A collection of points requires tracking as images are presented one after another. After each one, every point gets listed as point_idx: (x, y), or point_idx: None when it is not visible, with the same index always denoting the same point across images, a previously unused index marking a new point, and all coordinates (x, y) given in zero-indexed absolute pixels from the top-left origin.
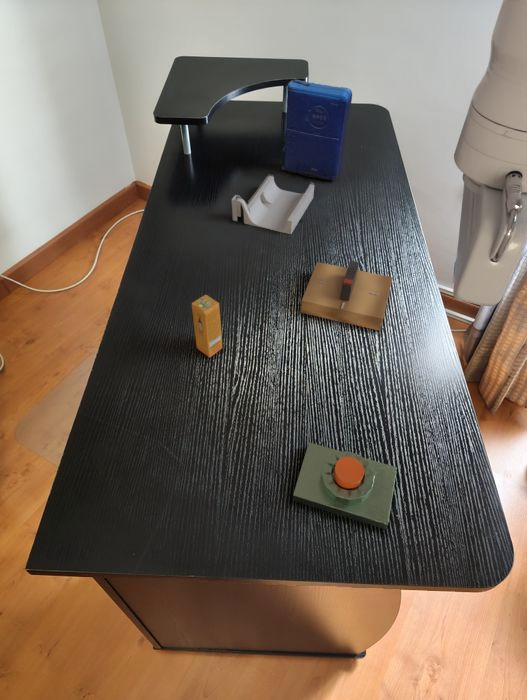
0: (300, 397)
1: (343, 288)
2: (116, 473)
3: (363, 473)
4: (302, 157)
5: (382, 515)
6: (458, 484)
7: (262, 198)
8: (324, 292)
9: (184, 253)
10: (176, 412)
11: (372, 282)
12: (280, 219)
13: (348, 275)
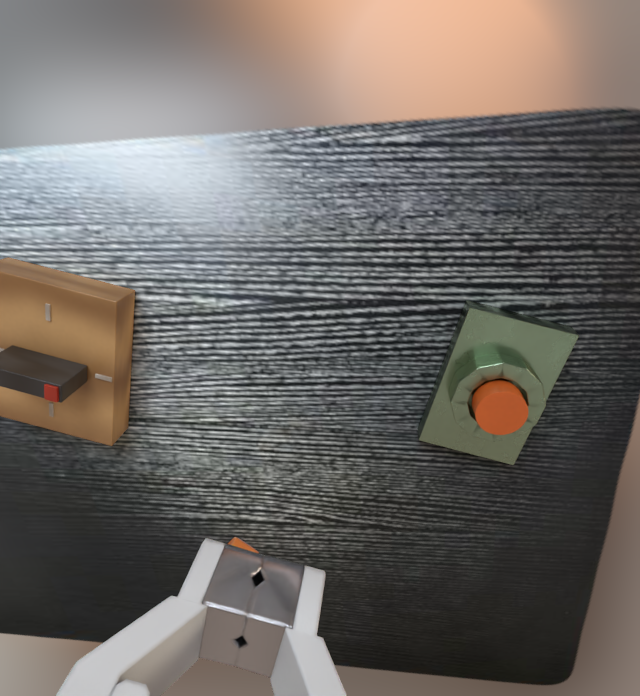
0: (318, 434)
1: (68, 394)
2: (457, 634)
3: (510, 393)
4: None
5: (561, 342)
6: (494, 182)
7: None
8: (77, 407)
9: (47, 586)
10: (361, 583)
11: (14, 312)
12: None
13: (30, 389)
